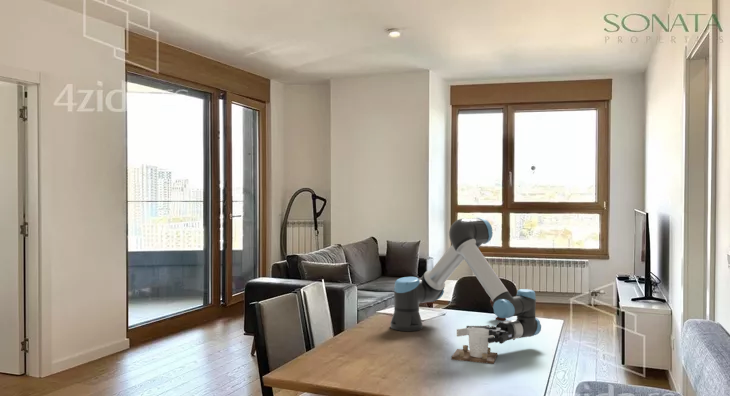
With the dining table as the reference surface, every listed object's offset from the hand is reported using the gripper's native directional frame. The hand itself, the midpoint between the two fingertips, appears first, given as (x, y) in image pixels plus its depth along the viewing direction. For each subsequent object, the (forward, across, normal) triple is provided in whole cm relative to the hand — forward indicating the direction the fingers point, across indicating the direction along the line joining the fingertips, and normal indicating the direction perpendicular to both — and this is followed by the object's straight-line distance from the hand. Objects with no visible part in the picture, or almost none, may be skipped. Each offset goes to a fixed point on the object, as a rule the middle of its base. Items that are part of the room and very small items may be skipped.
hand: (468, 336), depth 224 cm
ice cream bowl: (-59, +44, -9) cm, 74 cm away
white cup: (-4, -2, -8) cm, 9 cm away
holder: (-3, 0, -8) cm, 9 cm away
